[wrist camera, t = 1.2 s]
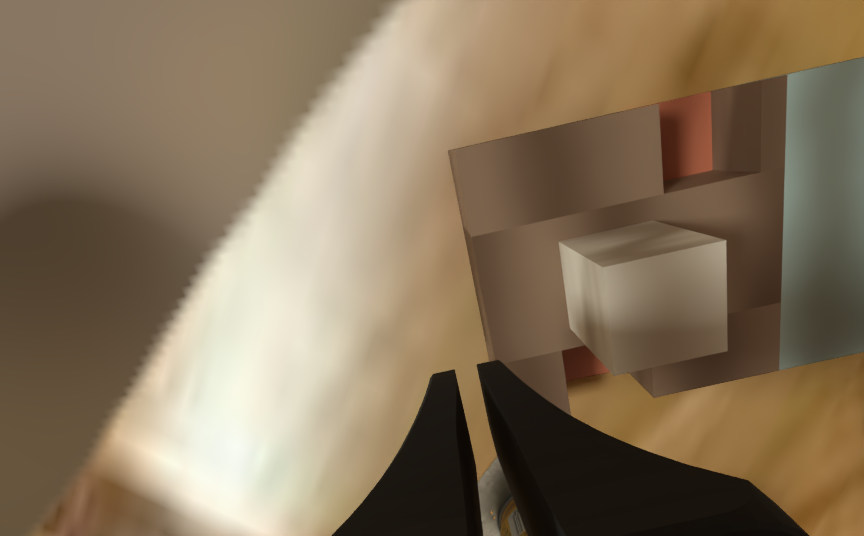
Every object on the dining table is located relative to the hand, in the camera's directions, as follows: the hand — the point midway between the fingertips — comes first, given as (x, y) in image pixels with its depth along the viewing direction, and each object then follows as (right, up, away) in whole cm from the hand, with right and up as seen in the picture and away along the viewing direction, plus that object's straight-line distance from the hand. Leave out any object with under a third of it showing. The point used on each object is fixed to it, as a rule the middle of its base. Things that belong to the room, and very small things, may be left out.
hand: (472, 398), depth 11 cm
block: (+6, +3, +6) cm, 9 cm away
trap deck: (+10, +5, +9) cm, 14 cm away
